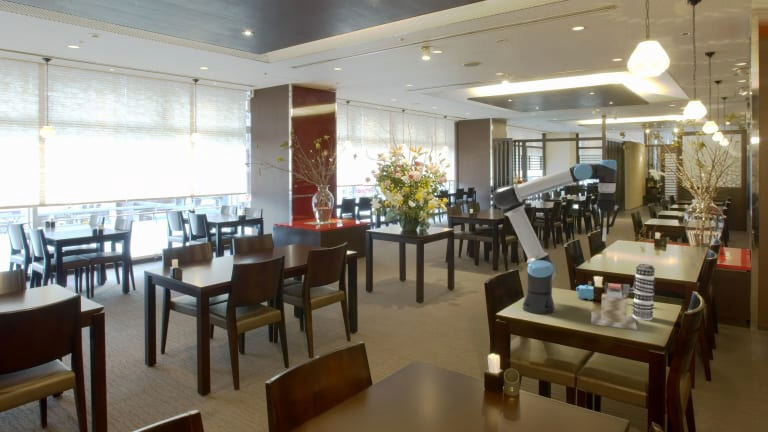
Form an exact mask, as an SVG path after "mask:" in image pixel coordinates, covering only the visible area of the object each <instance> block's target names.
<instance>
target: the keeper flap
mask: <svg viewBox="0 0 768 432" xmlns="http://www.w3.org/2000/svg"><path fill="white" fill-rule="evenodd" d="M607 283H608V286H607V288H609V289H621V285H620V284H621V283H612V282H611V283H609V282H607Z"/></svg>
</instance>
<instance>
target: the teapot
mask: <svg viewBox="0 0 768 432" xmlns="http://www.w3.org/2000/svg"><path fill="white" fill-rule="evenodd" d="M575 290H576V295H577V296H578V298H577V299H580V300H581V301H583V300H585V299H586V300H587V301H589V300H590V301H591V300H594V296H595V295H594V286H591V285H587V284H584V285H580V284H579V286H577V287H576V288H575Z"/></svg>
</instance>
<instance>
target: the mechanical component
mask: <svg viewBox="0 0 768 432" xmlns="http://www.w3.org/2000/svg"><path fill="white" fill-rule="evenodd" d="M619 284H620V285H621V284H623V295H625V296H626V298H627V299H628V296H629V294H635V293H634V289H635V288H634V285H633V286H632V287H631V286H630V284H626V283H625V284H624V283H619ZM619 290H621V289H619Z"/></svg>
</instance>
